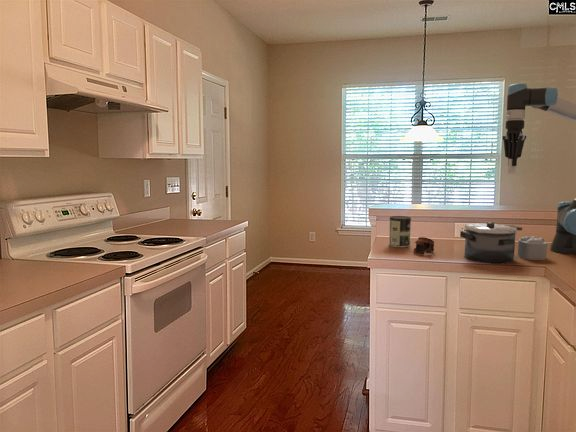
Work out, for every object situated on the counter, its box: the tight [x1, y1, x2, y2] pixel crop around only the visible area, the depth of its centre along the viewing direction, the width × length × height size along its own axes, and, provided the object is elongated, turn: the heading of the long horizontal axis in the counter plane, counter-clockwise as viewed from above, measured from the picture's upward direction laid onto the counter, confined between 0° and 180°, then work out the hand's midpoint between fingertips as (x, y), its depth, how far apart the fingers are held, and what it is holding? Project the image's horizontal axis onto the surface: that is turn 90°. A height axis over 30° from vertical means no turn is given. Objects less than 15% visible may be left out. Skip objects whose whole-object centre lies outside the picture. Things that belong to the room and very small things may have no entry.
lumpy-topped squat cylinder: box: [517, 235, 548, 261], centre depth 214 cm, size 10×13×9 cm
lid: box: [464, 221, 523, 235], centre depth 209 cm, size 24×21×3 cm
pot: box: [459, 230, 516, 265], centre depth 210 cm, size 22×25×12 cm
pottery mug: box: [412, 236, 435, 255], centre depth 221 cm, size 12×10×8 cm
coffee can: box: [388, 215, 412, 248], centre depth 237 cm, size 10×10×14 cm
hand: (511, 173), depth 217 cm, fingers closed
